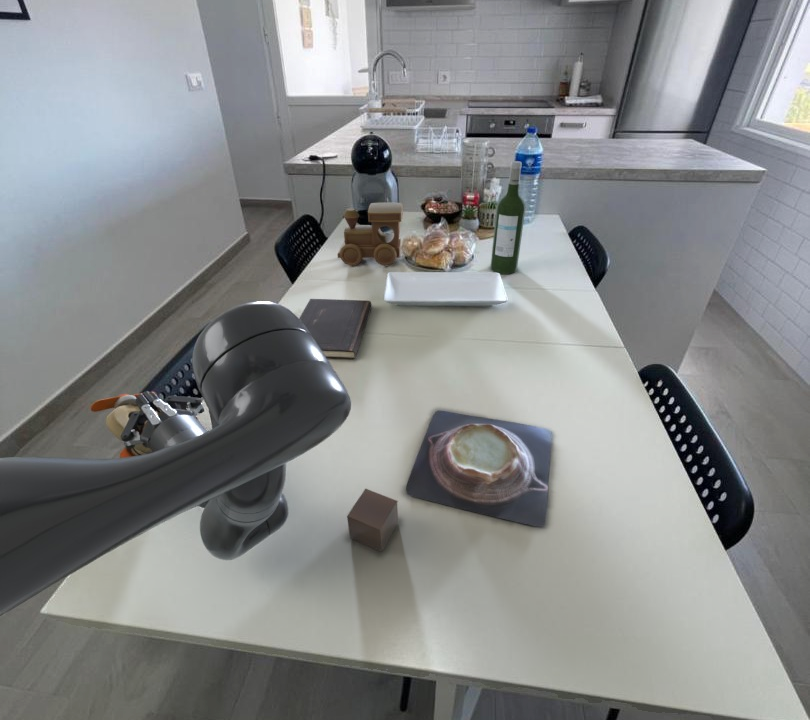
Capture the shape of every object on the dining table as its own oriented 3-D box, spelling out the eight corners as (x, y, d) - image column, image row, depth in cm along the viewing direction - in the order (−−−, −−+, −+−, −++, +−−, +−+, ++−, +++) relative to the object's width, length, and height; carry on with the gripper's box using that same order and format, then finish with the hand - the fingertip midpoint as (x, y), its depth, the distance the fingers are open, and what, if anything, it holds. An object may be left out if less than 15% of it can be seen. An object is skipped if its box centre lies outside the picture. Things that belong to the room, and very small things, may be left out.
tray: (507, 312, 113) (508, 300, 111) (383, 311, 114) (382, 299, 112) (498, 283, 126) (499, 271, 124) (387, 282, 128) (387, 271, 126)
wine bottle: (515, 263, 137) (529, 158, 120) (518, 274, 131) (534, 165, 113) (489, 263, 138) (500, 158, 120) (491, 274, 131) (502, 165, 114)
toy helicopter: (132, 477, 71) (64, 422, 71) (191, 445, 92) (139, 402, 91) (165, 439, 71) (97, 383, 70) (216, 415, 92) (164, 372, 91)
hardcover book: (284, 356, 98) (282, 347, 97) (311, 306, 117) (310, 298, 116) (355, 359, 97) (354, 350, 96) (371, 308, 116) (371, 300, 114)
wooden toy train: (404, 253, 146) (403, 201, 136) (402, 267, 136) (401, 212, 127) (343, 253, 146) (337, 201, 137) (337, 267, 137) (331, 213, 127)
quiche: (551, 431, 78) (555, 414, 76) (544, 530, 62) (549, 512, 60) (435, 409, 83) (436, 392, 81) (402, 495, 68) (402, 477, 65)
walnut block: (381, 552, 60) (380, 530, 57) (350, 538, 62) (346, 516, 59) (398, 522, 64) (397, 500, 61) (367, 510, 66) (365, 488, 63)
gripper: (224, 410, 68) (175, 362, 78) (132, 458, 60) (91, 398, 70) (235, 444, 72) (187, 395, 82) (151, 493, 65) (109, 432, 74)
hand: (143, 397), depth 76 cm, fingers closed
